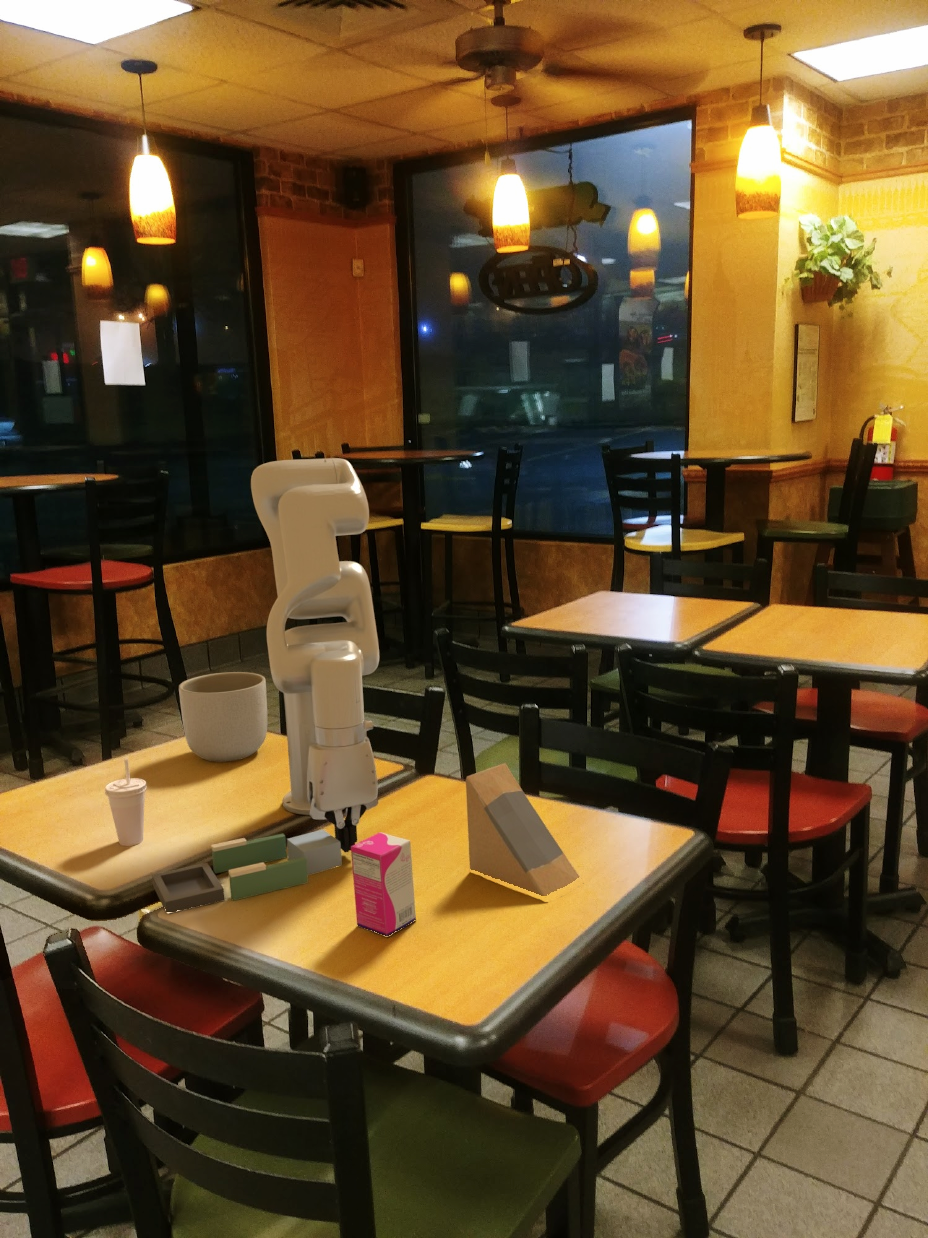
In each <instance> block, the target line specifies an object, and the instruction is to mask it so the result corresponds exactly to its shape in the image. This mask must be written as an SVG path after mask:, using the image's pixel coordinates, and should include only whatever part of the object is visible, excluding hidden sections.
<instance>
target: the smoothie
mask: <svg viewBox="0 0 928 1238" xmlns="http://www.w3.org/2000/svg"><path fill="white" fill-rule="evenodd" d="M123 761H124V771H125V778H122V779H117V780H113V781H112V782H110V783H108V784H106V786H105V787H104V794H105V796H107V798H108V802H109V806H110V810H111V814H112V820H113V822H114V823H113V824H114V827H115V830H116V831H115V833H116V835H117V838H118V840H117V841H118V842H119V843H118V844H119V845H120V846H121V847H122V846H123V847H132V846H136V845H140V843H142V842H143V841H144V831H145V829H144V825H145V823H144V822H145V800H146V799H145V795H146V793H145V791H146V790H147V788H148V787H147V781H146V780H144V779H142V778H137V777H133V778H132V777H131V776H130V765H129V758H124V760H123ZM130 777H131V778H130Z"/></svg>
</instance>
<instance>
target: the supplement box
mask: <svg viewBox="0 0 928 1238" xmlns="http://www.w3.org/2000/svg"><path fill="white" fill-rule="evenodd" d="M411 848H412V847H411V840H410V839H405V838H402V837H398V836H394V835H391V834H389V833H388V834H387V833H384V832H378V833H376V834H373V835H371V836H370V837H368V838H366V839H363V840H361V841H360V842H356V843H355V845H353V846H351V850H350V853H351V854H350V856H351V866H352V876H353V877H352V879H353V888H354V889H353V890H354V891H353V892H354V903H355V904H354V905H355V915H356V926H357V925H358V926H357V927H359V926H360V927H359V928H361V927H362V928H361V929H364V928H365V929H364V930H366V929H368V930H367V931H369V930H372V931H373V932H372V931H371V932H372V933H374V931H375V932H377V933H379V934H382V935H385V936H389V935H391V934H392V933H394V932H395V931H398V930H400V929H401V928H403V927H405V928H406V925H408V924H410V923H411V922H413V921H414V920H416V921H417V918H416V916H417V913H416V904H415V903H416V902H415V888H414V887H415V886H414V875H413V874H414V873H413V863H412V862H413V861H412V860H413V859H412V849H411ZM413 923H414V922H413ZM410 925H411V924H410ZM408 926H409V925H408ZM403 929H404V928H403ZM400 931H401V930H400ZM398 932H399V931H398ZM377 933H376V934H377ZM379 934H378V935H379Z"/></svg>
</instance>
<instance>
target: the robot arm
mask: <svg viewBox="0 0 928 1238" xmlns="http://www.w3.org/2000/svg"><path fill="white" fill-rule="evenodd" d="M353 467H354V466H353V465H352V464H351V463H350V462H349V460H347V459H344V458H338V457H337V458H336V457H330V458H308V459H306V458H305V459H284V460H283V459H282V460H275V461H269V462H266V463H263V464H260V465H258V466H256V468H254V470H253V471H252V475H251V478H250V489H251V495H252V499H253V500H252V501H253V505H254V508H255V511H256V513H257V516H258V519H259V521H260V522H261V525H262V526H263V528H264V531H265V532H266V535H267V537H268V539H269V540H268V541H269V542H270V543H269V544H270V547H271V552H272V553H271V554H272V560H273V561H272V562H273V563H272V564H273V571H274V578H275V587H276V593H277V597H276V600H275V601H274V603H273V605H272V607H271V609H270V612H269V615H268V619H267V624H266V643H267V651H268V659H269V661H268V662H269V667H270V668H269V669H270V673H271V679H272V681H273V684H274V686H275V687H276V689H277V690H278V691H279V692H281V693H283V701H284V710H285V722H286V725H285V726H286V737H287V738H286V740H287V751H288V752H287V754H288V755H287V756H288V766H289V767H288V768H289V779H290V780H289V782H290V791H289V792H287V793H286V794H285V795H284V796H283V798H282V806H283V808H284V809H285V810H286V811H287V812H290V813H293V814H298V815H305V816H310V817H311V818H312V819H313V820H326V821H328V822H330V823H331V824H333V826H334V838H336V839H337V840H339V841H340V844H341V851H343V852H344V853H345V854H346V853H349V852H351V846H353V845H355V844H356V843H358V831H357V829H358V828H357V826H358V824H360V820H361V818H362V817H363V815H364V814H365V813H366V811H368V810H371V809H373V808H375V807H377V806H378V805H379V799H378V793H379V791H378V790H379V787H378V785H379V784H378V776H377V775H378V774H377V769H376V763H375V757H374V753H373V749H372V746H371V745H372V744H371V742H370V738H369V737H368V736H367V731H370V730H373V729H374V724H373V721H372V720H366V719H365V712H364V711H365V710H364V709H365V708H364V693H363V691H364V690H363V676H366V675H371V674H372V673H374V672H375V671H376V670H377V668H378V666H379V662H380V649H379V638H378V632H377V625H376V624H377V623H376V619H375V618H376V617H375V612H374V604H373V597H372V596H373V595H372V590H371V584H370V581H369V580H370V579H369V577H368V574H367V572H366V570H365V569H364V567H363V565H362V564H360V563H358V562H356V561H351V560H349V561H348V560H344V561H342V560H341V561H340V558H339V554H338V553H339V552H338V546H337V540H336V539H337V538H336V537H337V536H348V535H360V534H362V533H363V532H366V529H367V528H368V526H369V520H370V509H369V502H368V499H367V498H368V497H367V495H366V491H365V489H364V486H363V485H362V482H361V480H360V478H359V477H358V474H357V472H356V471H355V469H354V468H353ZM333 617H343V618H344V619H345V622H336V623H335V622H334V623H333V622H332V623H319V624H309V625H302V626H295V627H292V628H290V629H289V628H288V629H286V622H287V619H288V618H289V619H292V620H293V619H294V620H307V619H309V620H310V619H312V620H313V619H320V618H321V619H323V618H333ZM343 810H345V818H344V815H343Z"/></svg>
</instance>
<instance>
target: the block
mask: <svg viewBox="0 0 928 1238" xmlns="http://www.w3.org/2000/svg"><path fill="white" fill-rule="evenodd" d="M286 849H287V858H288V859H287V861H289V860H293V859H298V858H302V857H304V858H305V859H306V860H307V874H308V876H311V875H313V874H317V873H321V872H325V871H328V870H331V868H332V869H335V868H337V867H336V866H339V867H341V865H343V864H342V849H341V844H340V841H339V840H337V839H336V838H335V836H333V835H331V834H330V833H329V832H328V831H326V830H325V829H322V828H321V829H319V830H315V831H313V832H308V833H304V834H301V835H296V836H293V837H290V838H286ZM334 867H335V868H334Z"/></svg>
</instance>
